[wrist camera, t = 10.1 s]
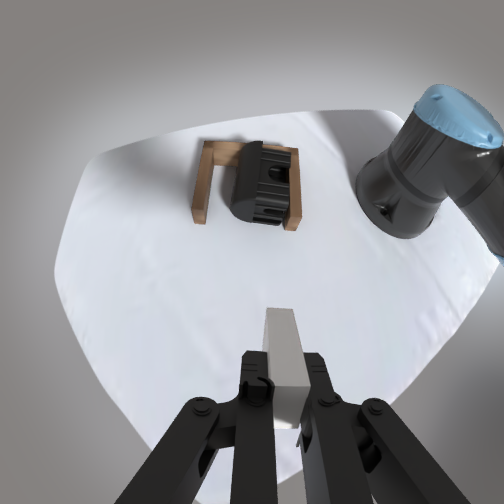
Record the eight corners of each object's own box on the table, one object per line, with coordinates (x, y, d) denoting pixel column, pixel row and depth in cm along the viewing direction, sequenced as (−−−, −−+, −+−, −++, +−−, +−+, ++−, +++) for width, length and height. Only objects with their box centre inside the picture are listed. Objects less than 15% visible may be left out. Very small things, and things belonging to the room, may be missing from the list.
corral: (292, 164, 43) (298, 148, 39) (295, 231, 39) (302, 217, 35) (205, 157, 42) (204, 140, 39) (194, 223, 38) (191, 209, 34)
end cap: (239, 167, 42) (241, 137, 36) (283, 173, 42) (292, 144, 36) (229, 223, 38) (229, 196, 32) (280, 229, 39) (289, 204, 32)
